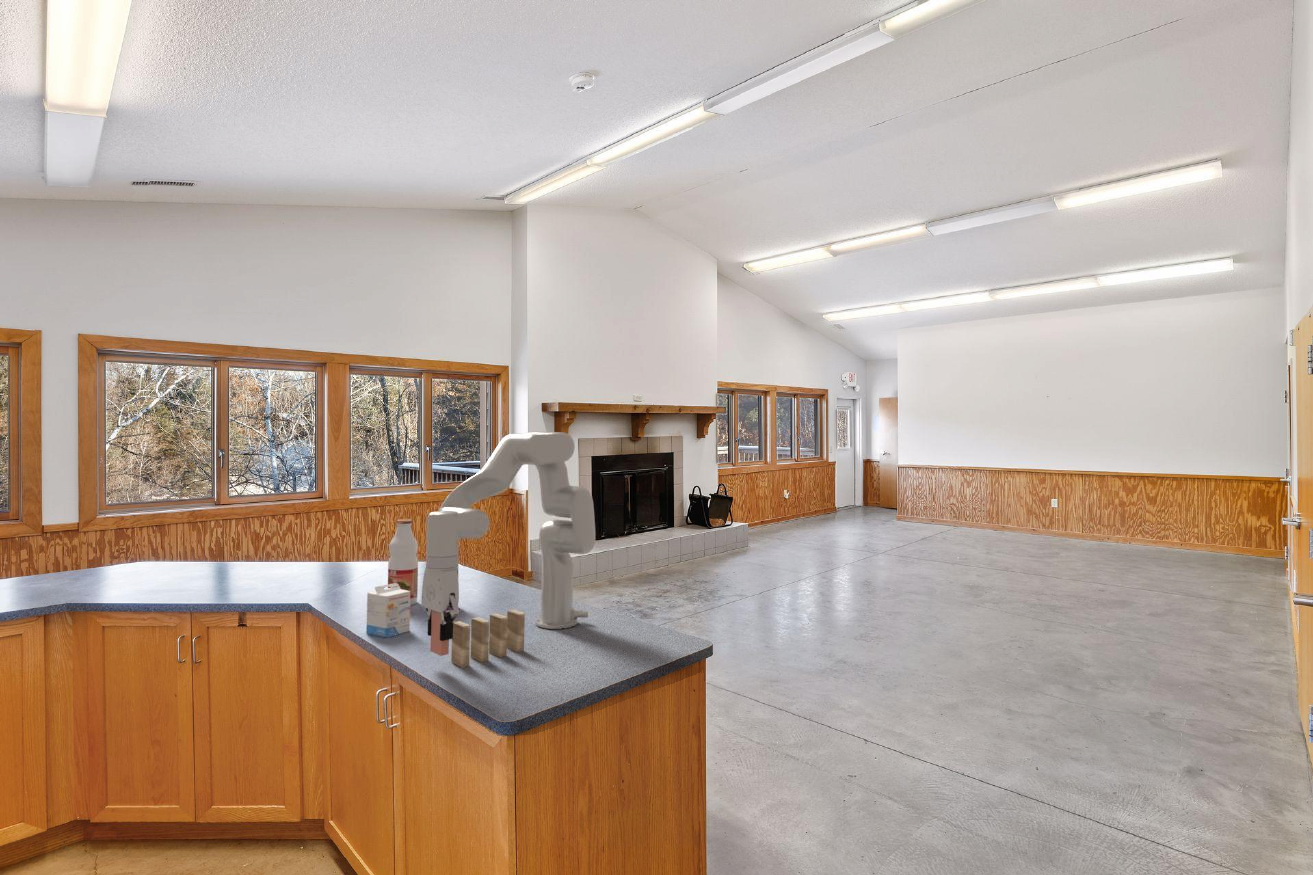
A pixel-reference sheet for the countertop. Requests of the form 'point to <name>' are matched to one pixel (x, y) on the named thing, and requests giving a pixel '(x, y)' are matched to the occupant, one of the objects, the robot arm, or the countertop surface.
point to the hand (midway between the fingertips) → (440, 636)
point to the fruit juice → (404, 559)
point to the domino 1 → (438, 635)
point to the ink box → (388, 611)
